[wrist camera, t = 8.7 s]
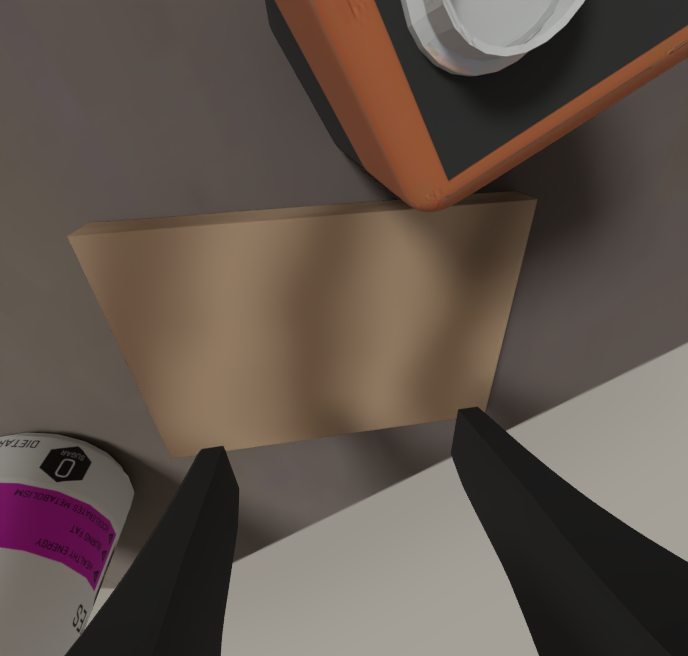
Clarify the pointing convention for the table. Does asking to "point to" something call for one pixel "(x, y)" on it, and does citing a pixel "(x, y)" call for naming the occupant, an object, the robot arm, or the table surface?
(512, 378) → the table surface
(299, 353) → the wooden flat block
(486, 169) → the battery
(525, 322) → the table surface
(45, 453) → the supplement can
